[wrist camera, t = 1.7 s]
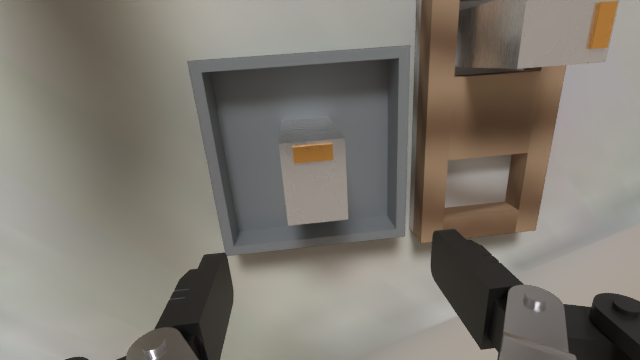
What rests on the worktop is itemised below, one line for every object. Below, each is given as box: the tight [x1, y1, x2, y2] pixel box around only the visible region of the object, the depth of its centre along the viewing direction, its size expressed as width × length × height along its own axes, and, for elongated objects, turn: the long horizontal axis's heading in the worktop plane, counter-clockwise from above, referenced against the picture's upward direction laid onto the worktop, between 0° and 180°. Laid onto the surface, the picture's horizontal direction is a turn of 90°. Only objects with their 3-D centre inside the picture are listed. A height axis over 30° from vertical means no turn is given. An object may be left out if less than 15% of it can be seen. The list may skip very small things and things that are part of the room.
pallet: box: [409, 0, 566, 243], centre depth 27 cm, size 22×11×3 cm, turn 4°
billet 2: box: [455, 0, 619, 69], centre depth 22 cm, size 4×6×8 cm
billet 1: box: [279, 117, 348, 226], centre depth 24 cm, size 4×6×8 cm
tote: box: [187, 45, 410, 256], centre depth 27 cm, size 16×16×4 cm
